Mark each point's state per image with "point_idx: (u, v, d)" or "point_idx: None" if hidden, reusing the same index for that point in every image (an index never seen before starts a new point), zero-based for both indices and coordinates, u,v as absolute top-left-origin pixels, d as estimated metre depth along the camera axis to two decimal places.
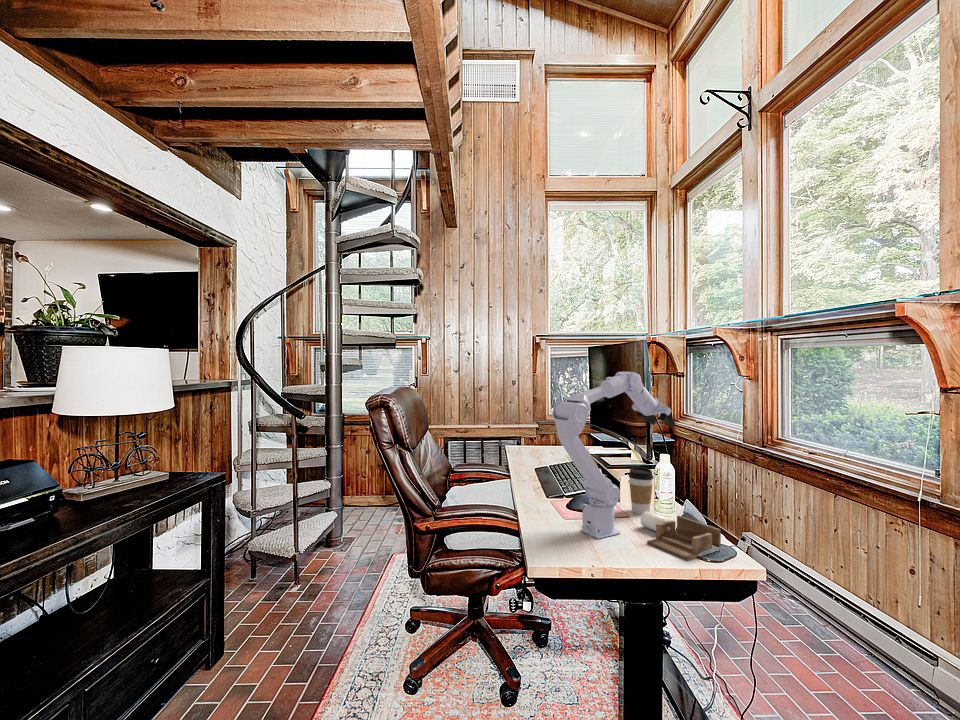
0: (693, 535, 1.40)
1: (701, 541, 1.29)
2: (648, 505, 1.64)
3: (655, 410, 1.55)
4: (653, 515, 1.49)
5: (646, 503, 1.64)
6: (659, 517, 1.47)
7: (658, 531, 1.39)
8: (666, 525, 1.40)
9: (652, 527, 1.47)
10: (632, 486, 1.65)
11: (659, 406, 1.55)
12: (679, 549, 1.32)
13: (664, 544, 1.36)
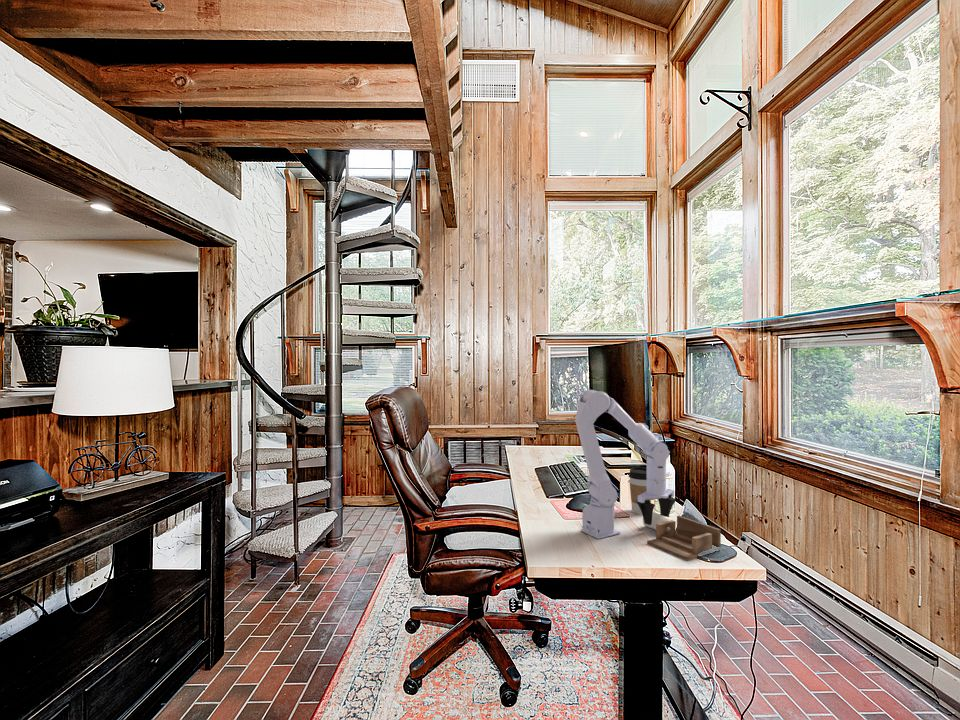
0: (693, 535, 1.40)
1: (701, 541, 1.29)
2: None
3: (647, 494, 1.48)
4: None
5: None
6: None
7: (658, 531, 1.39)
8: (666, 525, 1.40)
9: (654, 520, 1.48)
10: (632, 486, 1.65)
11: None
12: (679, 549, 1.32)
13: (664, 544, 1.36)
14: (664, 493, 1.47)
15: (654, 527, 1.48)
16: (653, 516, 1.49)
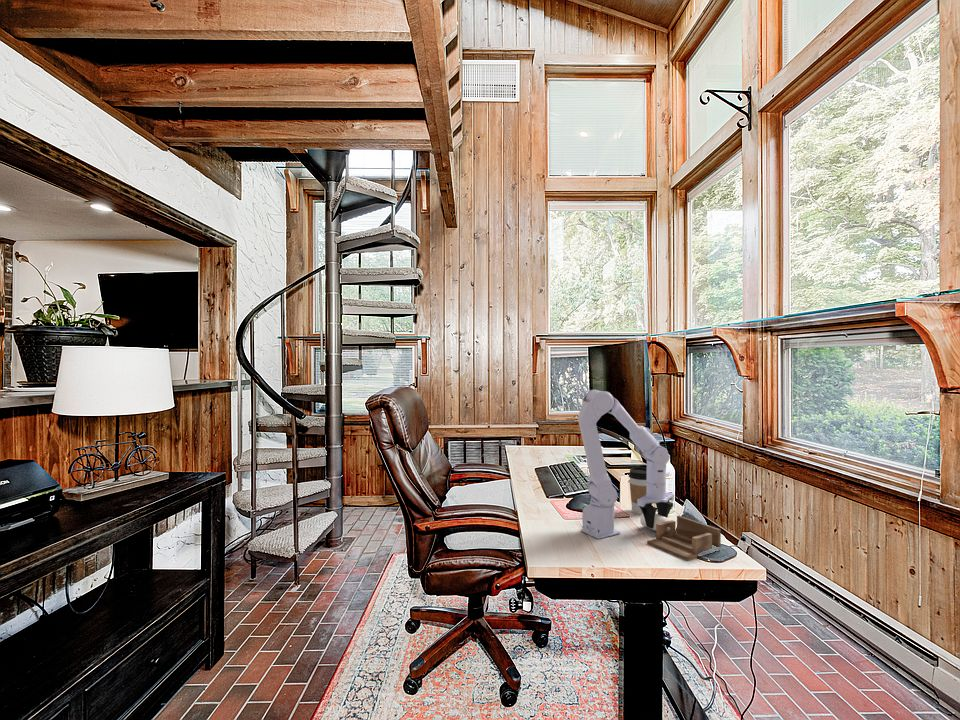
0: (693, 535, 1.40)
1: (701, 541, 1.29)
2: None
3: (647, 497, 1.48)
4: (655, 514, 1.49)
5: None
6: (661, 516, 1.47)
7: (658, 531, 1.39)
8: (666, 525, 1.40)
9: None
10: (632, 486, 1.65)
11: None
12: (679, 549, 1.32)
13: (664, 544, 1.36)
14: (664, 497, 1.47)
15: (653, 529, 1.48)
16: None
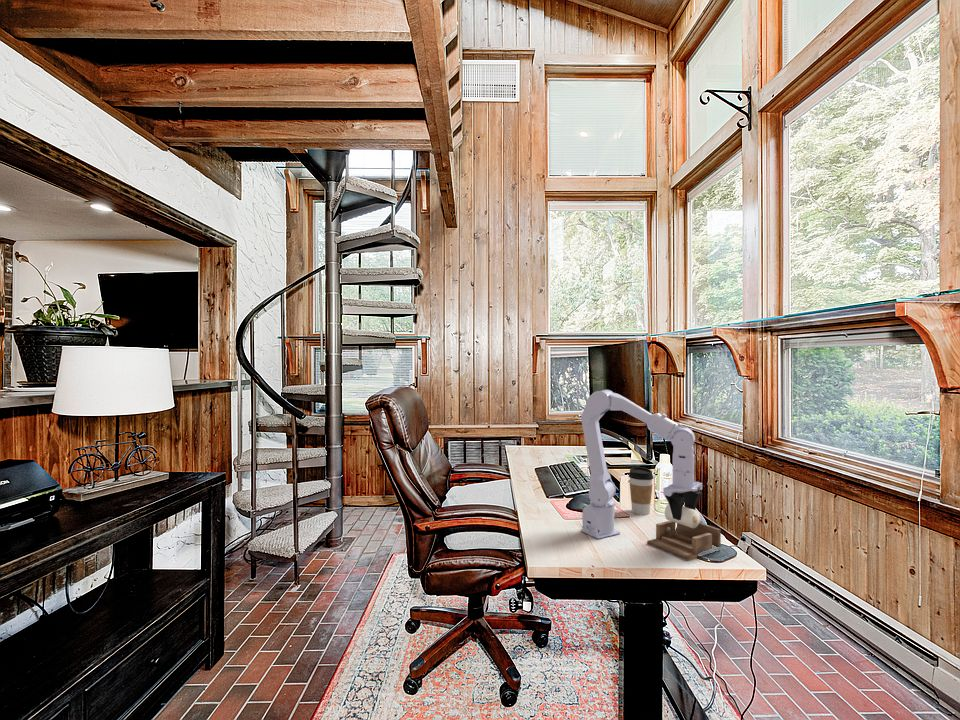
0: (693, 535, 1.40)
1: (701, 541, 1.29)
2: (648, 505, 1.64)
3: (673, 486, 1.35)
4: None
5: (646, 503, 1.64)
6: (687, 508, 1.34)
7: (658, 531, 1.39)
8: (666, 525, 1.40)
9: None
10: (632, 486, 1.65)
11: None
12: (679, 549, 1.32)
13: (664, 544, 1.36)
14: (692, 486, 1.34)
15: (680, 523, 1.35)
16: None
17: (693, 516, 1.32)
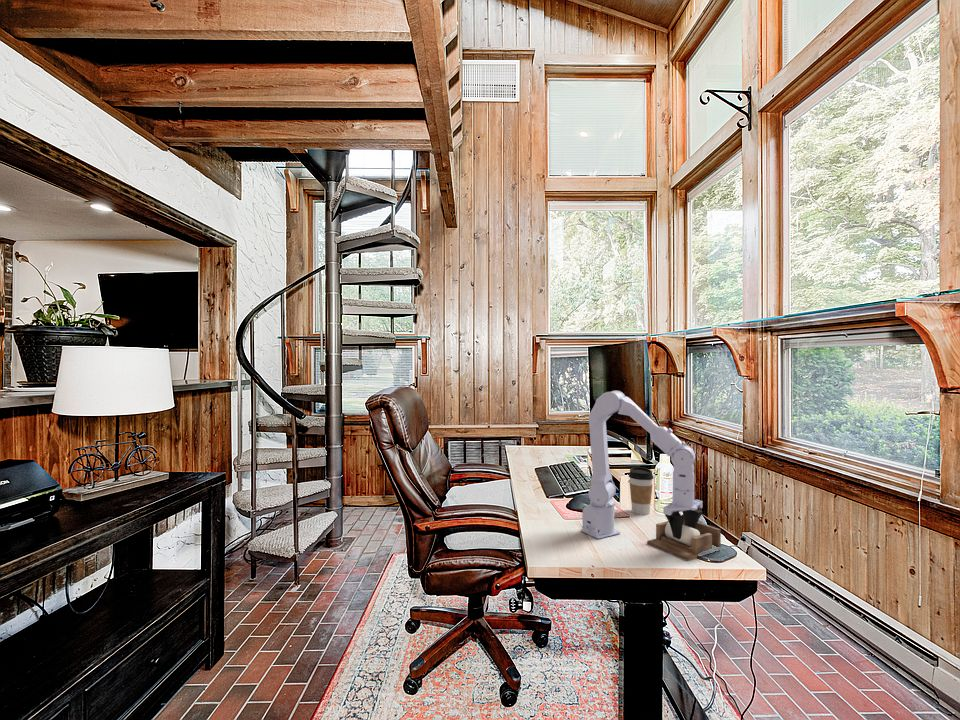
0: None
1: (701, 541, 1.29)
2: (648, 505, 1.64)
3: (674, 505, 1.35)
4: None
5: (646, 503, 1.64)
6: (688, 527, 1.34)
7: (658, 531, 1.39)
8: None
9: None
10: (632, 486, 1.65)
11: (679, 508, 1.33)
12: (679, 549, 1.32)
13: (664, 544, 1.36)
14: (693, 504, 1.33)
15: (680, 542, 1.35)
16: None
17: (693, 535, 1.32)
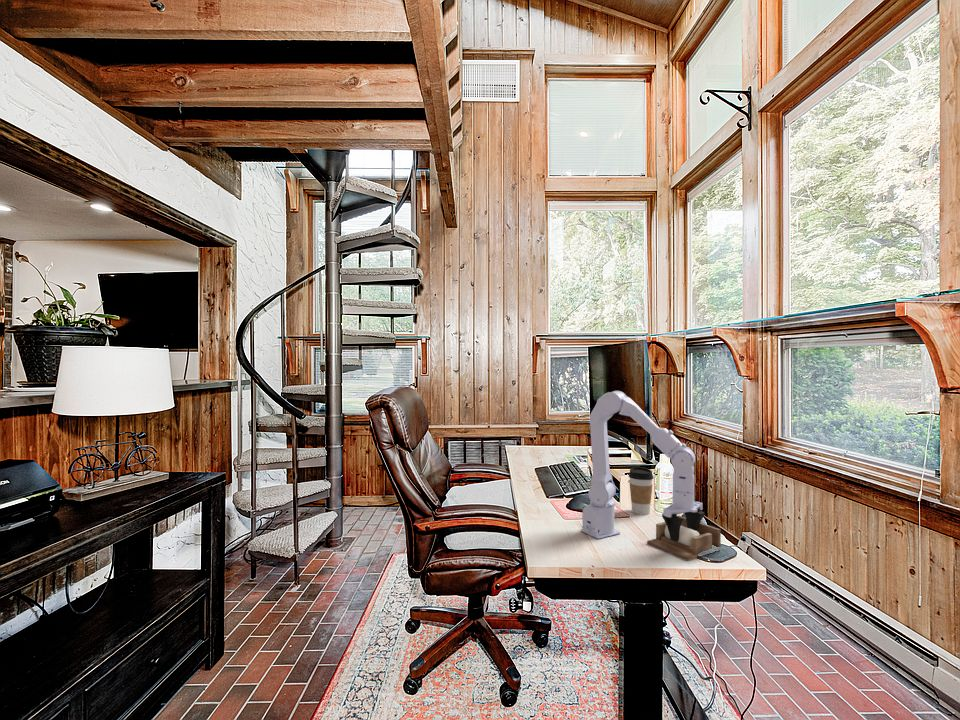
0: None
1: (701, 541, 1.29)
2: (648, 505, 1.64)
3: (673, 507, 1.35)
4: (680, 526, 1.36)
5: (646, 503, 1.64)
6: (687, 528, 1.34)
7: (658, 531, 1.39)
8: (666, 525, 1.40)
9: None
10: (632, 486, 1.65)
11: (679, 510, 1.33)
12: (679, 549, 1.32)
13: (664, 544, 1.36)
14: (692, 506, 1.33)
15: None
16: None
17: None
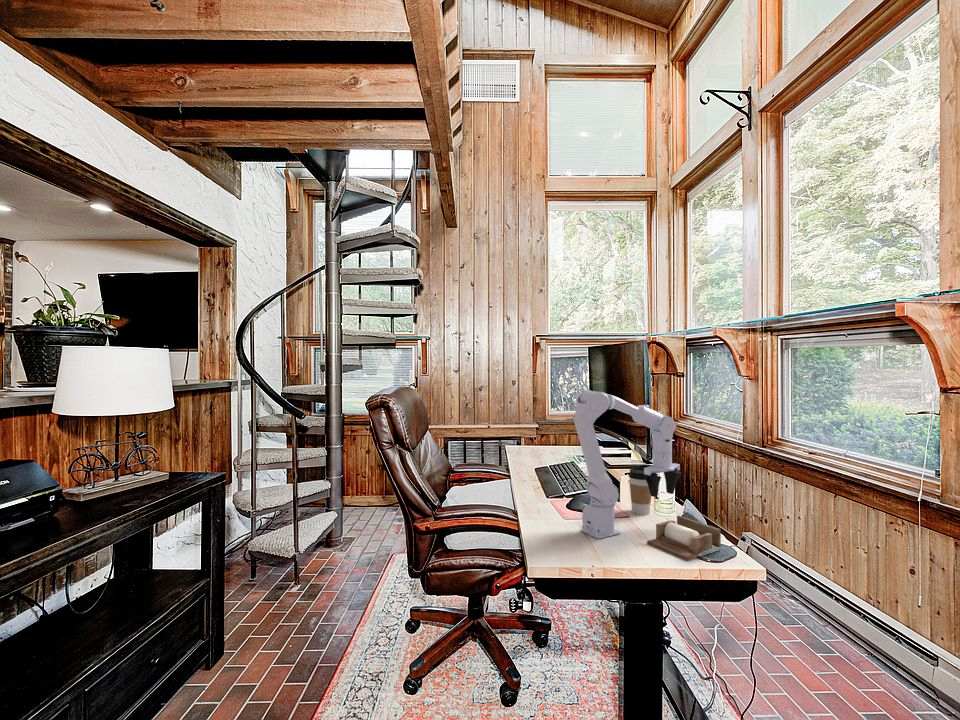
0: None
1: (701, 541, 1.29)
2: (648, 505, 1.64)
3: None
4: (680, 526, 1.36)
5: (646, 503, 1.64)
6: (687, 528, 1.34)
7: (658, 531, 1.39)
8: None
9: (677, 538, 1.34)
10: (632, 486, 1.65)
11: None
12: (679, 549, 1.32)
13: (664, 544, 1.36)
14: (670, 466, 1.50)
15: None
16: (674, 533, 1.35)
17: None
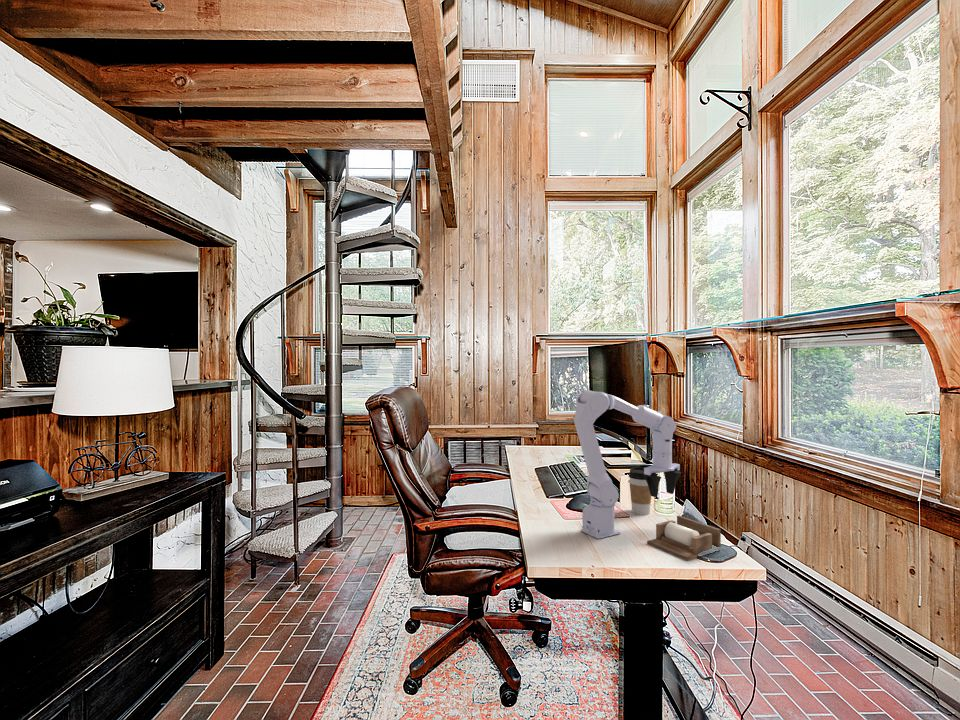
0: None
1: (701, 541, 1.29)
2: (648, 505, 1.64)
3: None
4: (680, 526, 1.36)
5: (646, 503, 1.64)
6: (687, 528, 1.34)
7: (658, 531, 1.39)
8: None
9: (677, 538, 1.34)
10: (632, 486, 1.65)
11: None
12: (679, 549, 1.32)
13: (664, 544, 1.36)
14: (670, 466, 1.50)
15: None
16: (674, 533, 1.35)
17: None
